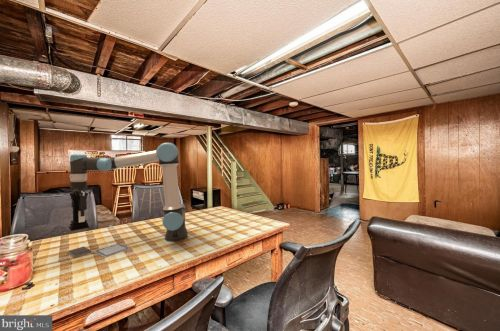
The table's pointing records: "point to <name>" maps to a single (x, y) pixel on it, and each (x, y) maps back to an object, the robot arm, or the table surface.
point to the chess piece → (77, 215)
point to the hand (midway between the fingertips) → (79, 220)
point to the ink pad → (79, 252)
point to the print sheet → (111, 250)
